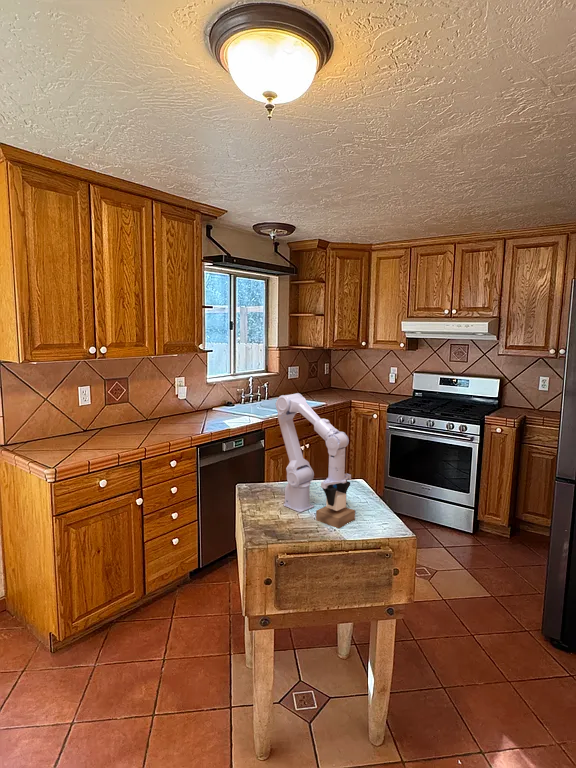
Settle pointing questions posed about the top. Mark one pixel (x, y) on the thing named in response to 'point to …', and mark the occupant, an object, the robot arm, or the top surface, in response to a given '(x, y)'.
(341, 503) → the cube
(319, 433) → the robot arm
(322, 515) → the walnut box
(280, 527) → the top surface
